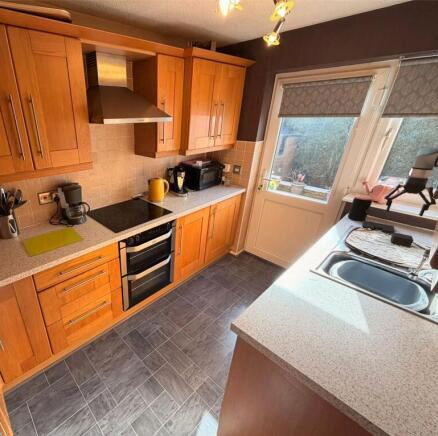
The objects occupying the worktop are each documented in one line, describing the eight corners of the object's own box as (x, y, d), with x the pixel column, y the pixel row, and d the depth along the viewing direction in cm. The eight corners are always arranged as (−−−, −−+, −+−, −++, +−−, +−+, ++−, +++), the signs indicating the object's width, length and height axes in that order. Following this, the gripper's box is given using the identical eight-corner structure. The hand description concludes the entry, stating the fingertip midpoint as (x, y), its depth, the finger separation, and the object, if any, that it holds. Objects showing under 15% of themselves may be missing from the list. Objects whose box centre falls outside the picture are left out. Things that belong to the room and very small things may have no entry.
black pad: (410, 247, 137) (413, 240, 135) (391, 243, 142) (394, 236, 140) (408, 241, 144) (411, 234, 142) (390, 237, 149) (393, 230, 147)
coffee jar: (366, 222, 173) (374, 199, 166) (348, 220, 178) (355, 197, 172) (363, 218, 181) (371, 196, 175) (346, 215, 187) (353, 194, 180)
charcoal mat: (393, 234, 153) (394, 231, 153) (362, 228, 163) (362, 225, 163) (392, 228, 163) (393, 225, 162) (362, 222, 173) (363, 220, 172)
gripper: (450, 178, 122) (433, 215, 129) (385, 173, 136) (373, 207, 143) (456, 180, 116) (438, 219, 124) (388, 175, 130) (375, 211, 138)
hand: (403, 213), depth 134 cm, fingers open, 13 cm apart
